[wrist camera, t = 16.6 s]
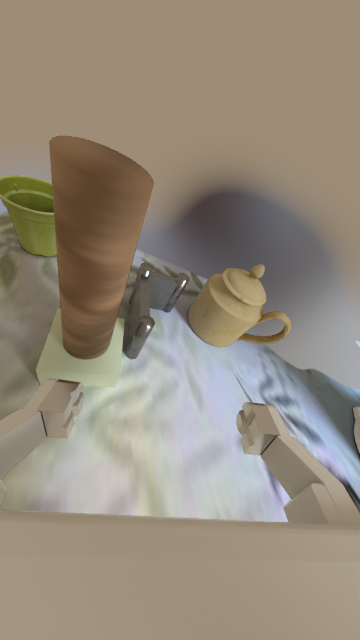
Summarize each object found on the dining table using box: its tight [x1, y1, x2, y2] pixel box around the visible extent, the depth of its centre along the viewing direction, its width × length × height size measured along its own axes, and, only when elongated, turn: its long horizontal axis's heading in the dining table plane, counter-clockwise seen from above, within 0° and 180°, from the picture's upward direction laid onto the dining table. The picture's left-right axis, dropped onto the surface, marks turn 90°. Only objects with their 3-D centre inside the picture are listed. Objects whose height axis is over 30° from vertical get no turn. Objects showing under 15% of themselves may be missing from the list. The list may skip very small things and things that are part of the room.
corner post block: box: [126, 263, 189, 359], centre depth 30 cm, size 8×12×8 cm, turn 6°
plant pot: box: [0, 175, 57, 257], centre depth 31 cm, size 9×9×9 cm
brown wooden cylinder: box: [49, 136, 154, 360], centre depth 17 cm, size 5×5×18 cm
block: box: [36, 308, 125, 387], centre depth 25 cm, size 8×8×4 cm
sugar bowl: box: [188, 264, 291, 347], centre depth 35 cm, size 15×11×15 cm
